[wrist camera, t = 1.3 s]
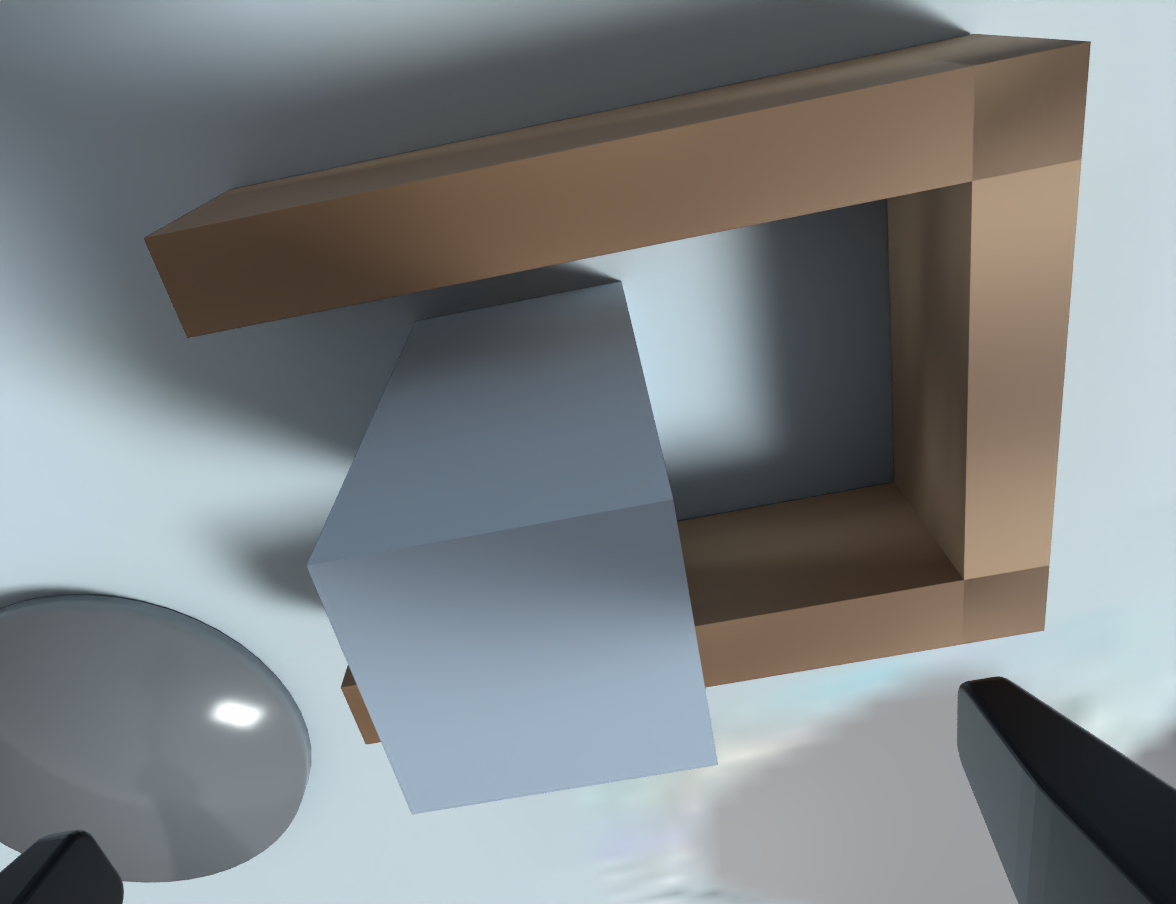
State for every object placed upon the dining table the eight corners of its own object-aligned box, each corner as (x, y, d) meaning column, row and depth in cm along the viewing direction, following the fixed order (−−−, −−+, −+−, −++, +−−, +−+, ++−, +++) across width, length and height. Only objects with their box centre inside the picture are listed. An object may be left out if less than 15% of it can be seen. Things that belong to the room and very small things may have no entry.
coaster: (358, 833, 23) (353, 853, 22) (41, 884, 23) (30, 905, 23) (229, 562, 19) (219, 579, 18) (-153, 633, 19) (-173, 650, 19)
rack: (963, 527, 19) (1043, 630, 16) (395, 627, 20) (365, 744, 16) (973, 34, 14) (1090, 41, 11) (229, 190, 15) (144, 238, 12)
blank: (653, 463, 18) (717, 764, 11) (468, 497, 18) (411, 814, 11) (621, 281, 16) (672, 499, 9) (415, 321, 16) (305, 565, 9)
